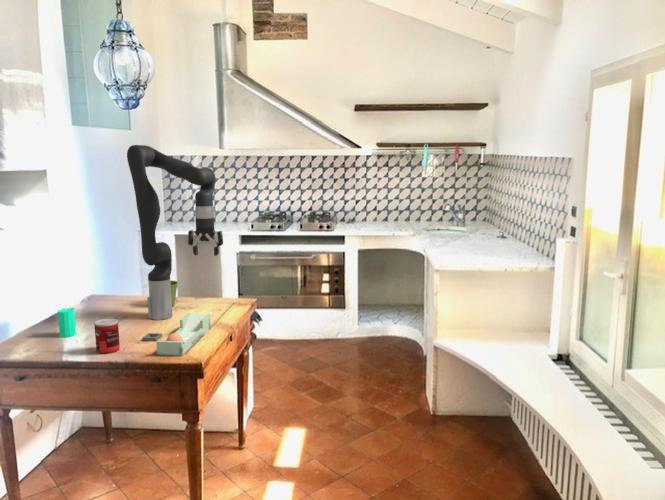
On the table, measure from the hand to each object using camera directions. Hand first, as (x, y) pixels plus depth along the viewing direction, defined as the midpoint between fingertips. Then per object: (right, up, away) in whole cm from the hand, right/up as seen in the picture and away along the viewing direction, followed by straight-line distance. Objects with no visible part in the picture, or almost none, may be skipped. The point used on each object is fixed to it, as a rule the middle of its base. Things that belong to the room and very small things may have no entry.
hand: (206, 255), depth 220 cm
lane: (-4, -33, -18) cm, 37 cm away
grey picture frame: (-17, -32, -15) cm, 40 cm away
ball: (-5, -31, -29) cm, 43 cm away
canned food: (-29, -35, -28) cm, 53 cm away
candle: (-53, -32, -10) cm, 62 cm away
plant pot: (-26, -25, +32) cm, 48 cm away
